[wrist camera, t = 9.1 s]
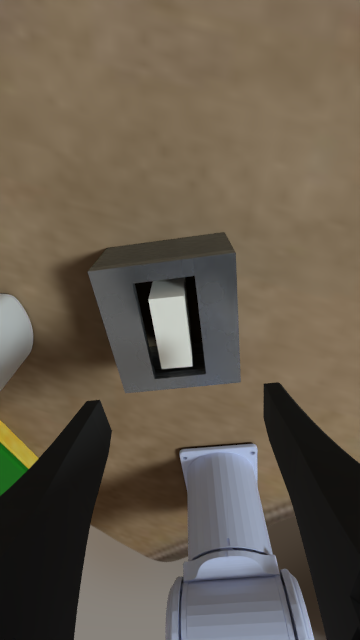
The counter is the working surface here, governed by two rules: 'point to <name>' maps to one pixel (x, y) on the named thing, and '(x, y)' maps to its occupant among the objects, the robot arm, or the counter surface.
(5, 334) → the eye dropper bottle
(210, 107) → the counter surface
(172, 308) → the block
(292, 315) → the counter surface
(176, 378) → the slot box
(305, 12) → the counter surface
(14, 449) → the dish sponge
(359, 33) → the counter surface
